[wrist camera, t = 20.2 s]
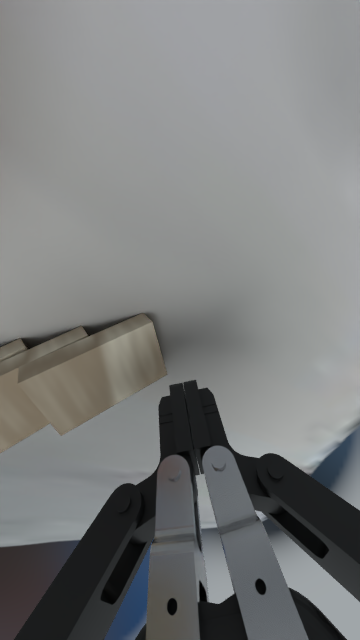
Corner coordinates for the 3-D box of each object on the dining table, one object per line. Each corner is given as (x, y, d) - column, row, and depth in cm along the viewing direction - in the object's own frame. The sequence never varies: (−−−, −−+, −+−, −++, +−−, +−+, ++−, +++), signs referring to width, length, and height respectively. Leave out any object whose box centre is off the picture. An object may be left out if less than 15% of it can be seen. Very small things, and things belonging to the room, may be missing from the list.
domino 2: (158, 363, 18) (58, 417, 15) (142, 312, 16) (18, 366, 13) (167, 374, 17) (61, 435, 14) (152, 321, 14) (17, 383, 11)
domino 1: (105, 374, 18) (-5, 437, 15) (81, 325, 16) (-61, 389, 12) (112, 385, 17) (-6, 456, 14) (87, 334, 14) (-68, 408, 11)
